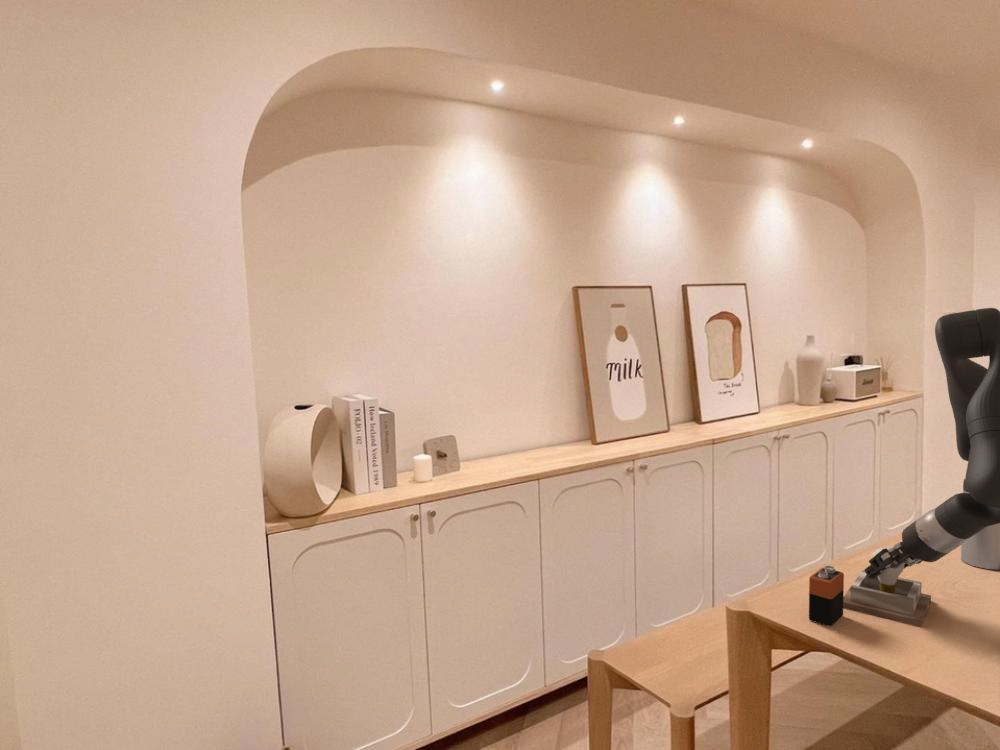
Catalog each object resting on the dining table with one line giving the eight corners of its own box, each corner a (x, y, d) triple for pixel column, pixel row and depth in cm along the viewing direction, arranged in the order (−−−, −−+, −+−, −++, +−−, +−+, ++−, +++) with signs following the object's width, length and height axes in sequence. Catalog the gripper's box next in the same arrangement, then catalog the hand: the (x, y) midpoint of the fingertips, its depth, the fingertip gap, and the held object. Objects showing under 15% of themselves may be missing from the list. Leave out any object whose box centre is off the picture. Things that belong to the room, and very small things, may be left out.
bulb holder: (855, 584, 143) (856, 566, 143) (930, 600, 134) (931, 581, 133) (840, 606, 132) (840, 587, 132) (920, 626, 123) (921, 605, 123)
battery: (844, 616, 128) (844, 567, 128) (831, 627, 124) (831, 577, 123) (821, 609, 132) (821, 562, 131) (807, 620, 127) (808, 571, 126)
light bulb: (892, 603, 129) (893, 555, 128) (864, 593, 134) (865, 546, 133) (910, 597, 132) (911, 549, 131) (881, 587, 137) (882, 541, 136)
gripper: (949, 511, 127) (893, 550, 139) (895, 521, 122) (842, 560, 134) (976, 546, 122) (916, 583, 134) (921, 557, 117) (864, 595, 129)
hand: (879, 572), depth 134 cm, fingers closed on light bulb, 6 cm apart
